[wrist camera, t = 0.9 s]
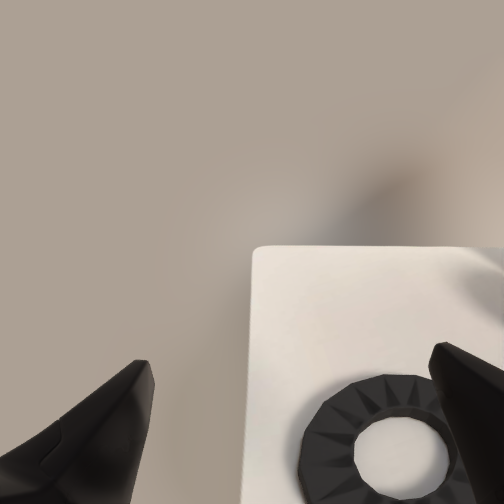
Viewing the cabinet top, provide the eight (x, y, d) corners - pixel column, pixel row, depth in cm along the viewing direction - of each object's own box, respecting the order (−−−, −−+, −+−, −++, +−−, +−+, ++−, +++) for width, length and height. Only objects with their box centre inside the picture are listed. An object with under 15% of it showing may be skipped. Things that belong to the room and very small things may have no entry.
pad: (514, 484, 13) (523, 476, 13) (333, 583, 11) (338, 582, 10) (431, 366, 28) (436, 356, 28) (277, 408, 26) (278, 398, 25)
